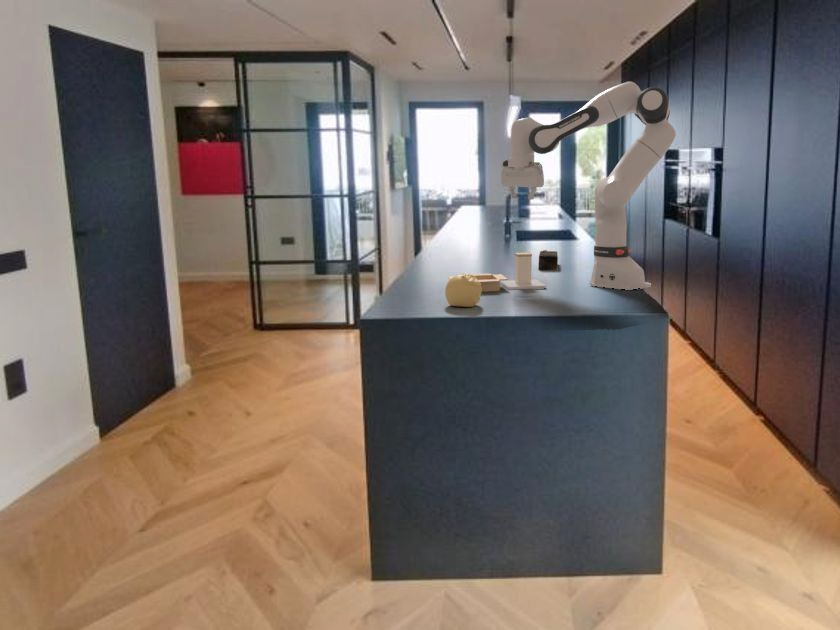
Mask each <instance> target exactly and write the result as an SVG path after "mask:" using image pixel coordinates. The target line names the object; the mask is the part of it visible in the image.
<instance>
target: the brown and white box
mask: <svg viewBox="0 0 840 630" xmlns="http://www.w3.org/2000/svg"><path fill="white" fill-rule="evenodd" d="M532 256H533V254H532V253H530V252H515V253H514V280H515V283H517V284H531V280H532Z"/></svg>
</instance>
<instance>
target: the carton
mask: <svg viewBox="0 0 840 630" xmlns="http://www.w3.org/2000/svg"><path fill="white" fill-rule="evenodd" d="M471 274H472V275H473V276H474V277H476V278H477V279H478V282H479V283H481V287H482V292H481V293H483V292H500V290H501V288H500V287H501V283H500V281H509V278H507V277H506V276H504V275H503V274H500V273H499V274H491V273H490V272H489V273H471ZM457 275H458V274H455V275H452V276H449V275H448V276H447V278H448V279H449V280H450V279H451V278H453V277H454V276H457Z"/></svg>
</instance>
